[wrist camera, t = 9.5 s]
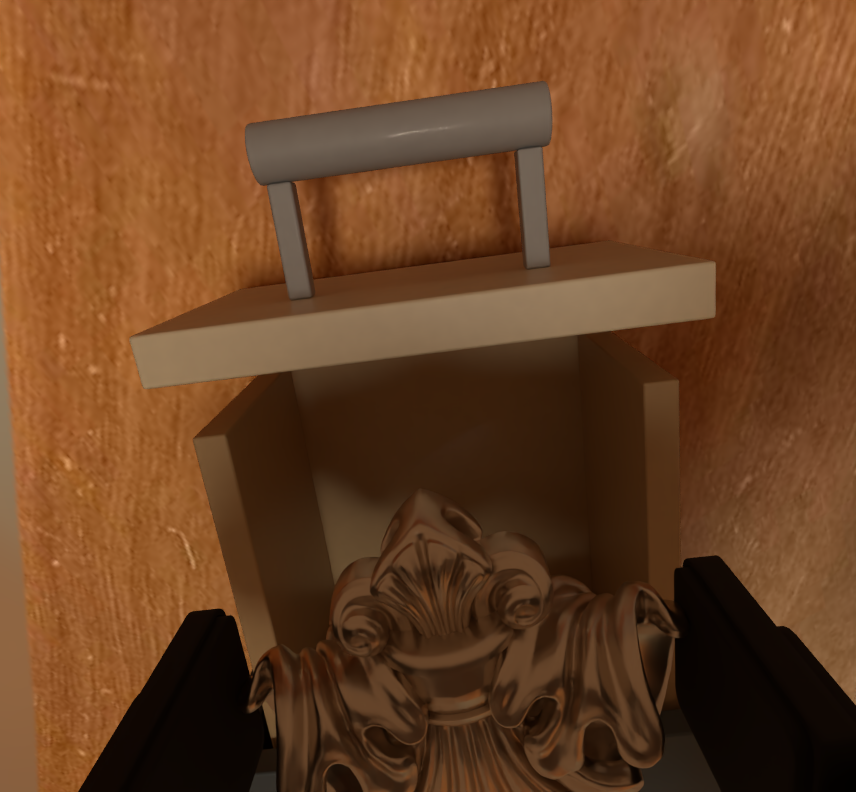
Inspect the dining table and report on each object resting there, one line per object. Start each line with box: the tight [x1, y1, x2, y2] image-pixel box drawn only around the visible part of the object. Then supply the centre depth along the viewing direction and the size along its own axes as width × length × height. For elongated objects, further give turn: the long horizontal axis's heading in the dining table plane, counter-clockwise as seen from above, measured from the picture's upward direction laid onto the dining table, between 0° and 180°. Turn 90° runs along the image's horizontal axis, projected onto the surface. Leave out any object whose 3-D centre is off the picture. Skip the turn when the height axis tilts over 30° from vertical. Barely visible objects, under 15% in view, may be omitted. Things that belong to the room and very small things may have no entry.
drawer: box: [130, 81, 716, 748], centre depth 18 cm, size 18×12×8 cm
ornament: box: [237, 488, 689, 792], centre depth 10 cm, size 8×7×4 cm
